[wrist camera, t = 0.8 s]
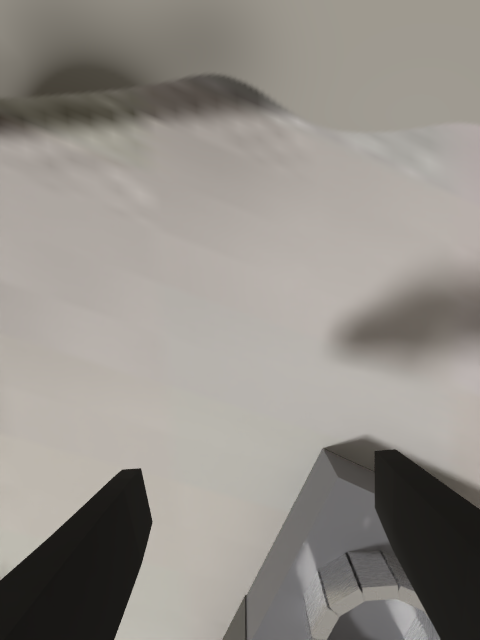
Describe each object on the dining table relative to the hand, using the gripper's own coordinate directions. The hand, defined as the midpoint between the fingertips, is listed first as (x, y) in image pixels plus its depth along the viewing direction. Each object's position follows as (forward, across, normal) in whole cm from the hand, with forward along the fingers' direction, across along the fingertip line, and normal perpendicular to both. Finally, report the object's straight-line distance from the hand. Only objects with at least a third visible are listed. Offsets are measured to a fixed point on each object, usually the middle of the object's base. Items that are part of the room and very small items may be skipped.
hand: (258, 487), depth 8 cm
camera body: (+8, -4, +17) cm, 20 cm away
